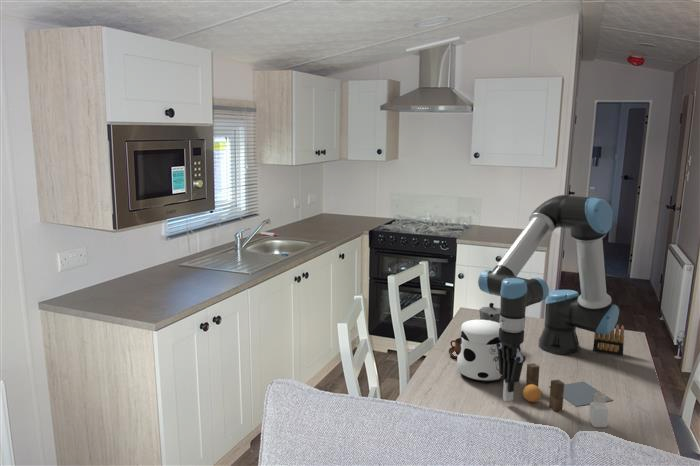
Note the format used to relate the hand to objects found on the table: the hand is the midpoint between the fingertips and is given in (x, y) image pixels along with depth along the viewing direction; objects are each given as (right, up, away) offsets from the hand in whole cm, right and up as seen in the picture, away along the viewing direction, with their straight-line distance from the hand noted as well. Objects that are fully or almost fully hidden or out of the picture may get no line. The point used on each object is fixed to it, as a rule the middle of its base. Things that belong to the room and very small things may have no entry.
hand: (507, 399), depth 177 cm
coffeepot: (+6, +7, +49) cm, 50 cm away
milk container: (-3, +2, +22) cm, 22 cm away
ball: (+8, +1, +2) cm, 9 cm away
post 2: (+14, -2, -2) cm, 15 cm away
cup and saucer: (-6, +5, +39) cm, 39 cm away
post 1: (+11, 0, +10) cm, 15 cm away
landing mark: (+26, 0, +8) cm, 27 cm away
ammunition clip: (+50, +6, +41) cm, 65 cm away
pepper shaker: (+23, -4, -11) cm, 26 cm away
